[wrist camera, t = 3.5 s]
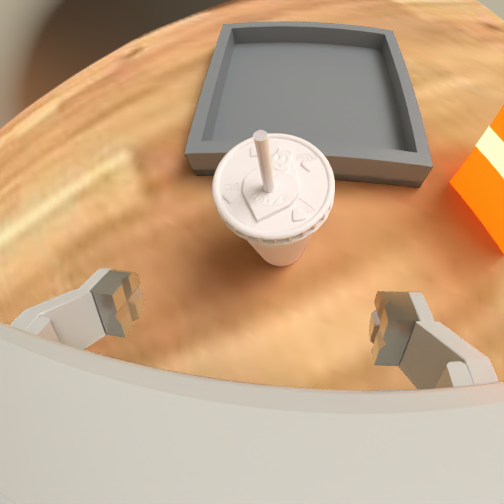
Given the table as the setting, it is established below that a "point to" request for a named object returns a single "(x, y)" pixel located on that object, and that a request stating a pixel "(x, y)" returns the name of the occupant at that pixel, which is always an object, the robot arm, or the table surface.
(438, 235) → the table surface
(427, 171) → the tray
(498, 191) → the orange juice
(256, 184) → the smoothie
